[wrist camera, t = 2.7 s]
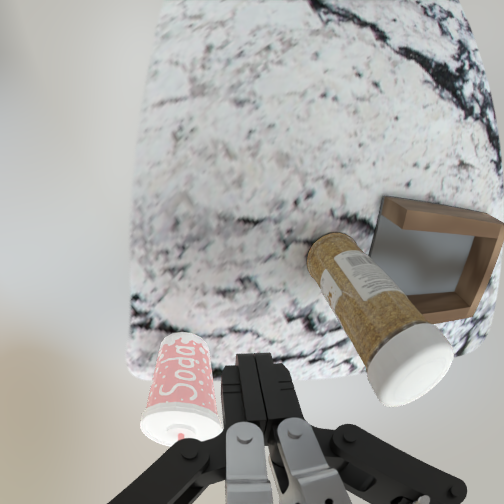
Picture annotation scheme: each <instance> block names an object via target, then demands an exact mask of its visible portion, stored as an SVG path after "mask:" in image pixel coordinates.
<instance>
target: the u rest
mask: <svg viewBox="0 0 504 504" xmlns="http://www.w3.org/2000/svg"><path fill="white" fill-rule="evenodd" d="M503 241H504V223H503V222H501V221H499V220H498V219H496V218H494V217H492V216H490V215H489V214H487V213H482V212H478V211H473V210H468V209H463V208H457V207H452V206H447V205H441V204H435V203H429V202H423V201H417V200H411V199H404V198H398V197H391V196H383V198H382V203H381V208H380V212H379V217H378V221H377V225H376V230H375V234H374V238H373V242H372V246H371V250H370V253H369V257H370V258H371V259H372V260H373V261H374V262H375V263H376V264H377V265H378V266H379V267H380V268H381V269H382V270H383V271H384V272H385V273H386V274H387V275H388V276H389V277H390V278H391V279H392V281H393V282H394V283H395V284H396V285H397V286H398V287H399V288H400V289H401V290H402V291H403V292H404V294H405V295H406V296H407V297H408V299H409V300H410V302H411V303H412V304H413V305H414V306H415V308H416V309H417V310H418V311H419V312H420V313H421V314H422V315H423V316H424V318H425V319H426V320H427V321H429V322H431V323H432V324H437V323H443V322H448V321H454V320H459V319H464V318H469V317H473V315H474V313H475V311H476V309H477V307H478V304H479V302H480V300H481V298H482V296H483V293H484V291H485V289H486V287H487V284H488V282H489V279H490V277H491V274H492V272H493V269H494V267H495V264H496V261H497V259H498V256H499V253H500V250H501V247H502V244H503Z"/></svg>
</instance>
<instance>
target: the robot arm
mask: <svg viewBox="0 0 504 504" xmlns="http://www.w3.org/2000/svg"><path fill="white" fill-rule="evenodd" d="M221 402H222V413H223V424H224V429H223V431H222V432H221V433H220V434H219V435H218V436H216V437H214V438H212V439H208V440H205V441H202V442H201V441H200V440H197V439H194V438H184V439H181V440H178V441H177V442H176V443H174V444H173V445H172V446H171V447H170V448H169V449H168V450H167V451H166V452H165V453H164V454H163V455H162V456H161V457H160V458H159V459H158V460H157V461H155V462H154V463H153V464H152V465H151V466H150V467H149V468H148V469H147V470H146V471H144V472H143V473H142V474H141V475H140V476H139V477H138V478H137V479H136V480H134V481H133V482H132V483H131V484H130V485H129V486H128V487H127V488H125V489H124V490H123V491H122V492H121V493H119V494H118V495H117V496H116V497H115V498H114V499H112V500H111V501H110V502H109V503H107V504H192V503H193V502H194V501H195V500H196V499H197V498H198V497H199V496H200V495H201V493H202V492H203V491H204V490H205V489H206V488H207V487H208V486H209V485H210V484H214V483H216V482H220V481H223V480H225V489H226V490H225V491H226V504H273V497H272V488H271V483H270V481H269V480H268V476H267V467H266V458H265V447H264V446H268V447H269V452H270V454H269V464H270V467H271V471H272V474H273V477H274V481H275V484H276V487H277V490H278V494H279V504H352V502H351V500H350V498H349V496H348V494H347V492H346V490H348V491H349V492H351V493H353V494H354V495H356V496H358V497H360V498H362V499H363V500H365V501H367V502H369V503H371V504H460V503H461V502H463V500H464V499H465V497H466V494H467V487H466V485H465V483H464V482H463V481H462V480H461V479H459V478H457V477H454V476H452V475H450V474H448V473H445V472H443V471H441V470H439V469H437V468H435V467H433V466H430V465H428V464H426V463H424V462H422V461H420V460H418V459H416V458H414V457H412V456H410V455H409V454H407V453H405V452H403V451H401V450H399V449H397V448H395V447H393V446H391V445H390V444H388V443H386V442H384V441H382V440H380V439H379V438H377V437H375V436H373V435H372V434H370V433H368V432H366V431H365V430H363V429H361V428H360V427H358V426H356V425H353V424H344V425H341V426H339V427H338V428H337V429H336V430H329V429H321V428H317V427H314V426H312V425H310V424H309V423H308V422H307V421H306V420H305V419H304V417H303V414H302V412H301V408H300V405H299V402H298V398H297V395H296V392H295V390H294V385H293V383H292V379H291V376H290V372H289V370H288V369H287V368H286V367H285V366H284V365H283V364H282V363H279V364H273V360H272V356H271V353H254V354H253V353H251V354H236V364H235V365H233V366H225V368H224V370H223V372H222V374H221Z"/></svg>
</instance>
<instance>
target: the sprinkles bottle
mask: <svg viewBox="0 0 504 504" xmlns="http://www.w3.org/2000/svg"><path fill="white" fill-rule="evenodd" d="M307 268H308V271H309V273H310V275H311V276H312V277H313V278H314V279H315V280H316V282H317V284H318V285H319V287H320V289H321V291H322V293H323V295H324V297H325V299H326V300H327V302H328V303H329V305H330V307H331V308H332V310H333V312H334V313H335V315H336V317H337V319H338V320H339V322H340V324H341V326H342V327H343V329H344V331H345V333H346V334H347V336H348V337H349V338H350V339H351V341H352V343H353V345H354V347H355V349H356V351H357V352H358V354H359V356H360V357H361V359H362V361H363V363H364V365H365V366H366V370H367V377H368V381H369V383H370V384H371V386H372V388H373V390H374V392H375V393H376V395H377V397H378V399H379V401H380V402H381V403H382V404H383V405H385V406H389V407H396V406H401V405H404V404H407V403H410V402H412V401H414V400H416V399H418V398H419V397H421V396H422V395H424V394H425V393H427V392H428V391H429V390H431V389H432V388H433V387H434V386H435V385H436V384H437V383H438V382H439V381H440V380H441V379H442V378H443V376H444V375H445V374H446V373H447V371H448V370H449V368H450V366H451V364H452V361H453V357H454V350H453V347H452V345H451V344H450V343H449V341H448V340H447V339H446V337H445V336H444V335H443V334H442V332H441V331H440V330H439V329H438V328H437V327H436V326H435V325H433V324H432V323H431V322H429V321H427V320H426V319H425V318H424V316H423V315H422V314H421V313H420V312H419V311H418V310H417V309H416V308H415V306H414V305H413V304H412V303H411V302H410V300H409V299H408V297H407V296H406V295H405V294H404V292H403V291H402V290H401V289H400V288H399V287H398V286H397V285H396V284H395V283H394V282H393V281H392V279H391V278H390V277H389V276H388V275H387V274H386V273H385V272H384V271H383V270H382V269H381V268H380V267H379V266H378V265H377V264H376V263H375V262H374V261H373V260H372V259H371V258H370V257H369V256H368V255H367V254H365V253H364V252H363V251H362V250H361V249H360V248H359V247H358V246H357V244H356V242H355V241H354V240H353V239H352V238H351V237H350V236H348V235H346V234H342V233H330V234H327V235H325V236H323V237H321V238H320V239H319V240H317V241H316V242H315V243H314V244H313V245H312V247H311V249H310V251H309V253H308V257H307Z"/></svg>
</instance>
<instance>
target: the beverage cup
mask: <svg viewBox="0 0 504 504" xmlns="http://www.w3.org/2000/svg"><path fill="white" fill-rule="evenodd" d="M140 425H141V426H140V427H141V431H142V432H143V433H144V434H145V435H146V437H148V438H150V439H151V440H153V441H155V442H157V443H159V444H162V445H166V446H169V447H171V446H172V445H173V444H174V443H176V442H177V441H178V440H181V439H184V438H194V439H197V440H200V441H201V442H202V441H205V440H208V439H212V438H214V437H216V436H218V435H219V434H220V433H221V432H222V431H223V428H222V422H221V420H220V418H219V416H218V414H217V408H216V400H215V393H214V386H213V377H212V369H211V361H210V352H209V348H208V345H207V343H206V342H205V341H204V340H203V339H202V338H201V337H199V336H197V335H195V334H193V333H187V332H178V333H172V334H171V335H169V336H167V337H165V338H164V340H163V341H162V342H161V345H160V350H159V354H158V358H157V362H156V366H155V371H154V375H153V379H152V384H151V388H150V393H149V398H148V402H147V407H146V410H145V411H144V412H143V413H142V419H141V421H140Z"/></svg>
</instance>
